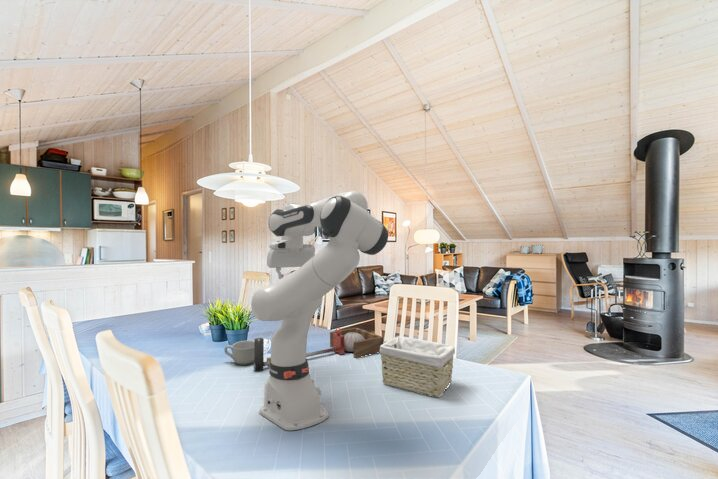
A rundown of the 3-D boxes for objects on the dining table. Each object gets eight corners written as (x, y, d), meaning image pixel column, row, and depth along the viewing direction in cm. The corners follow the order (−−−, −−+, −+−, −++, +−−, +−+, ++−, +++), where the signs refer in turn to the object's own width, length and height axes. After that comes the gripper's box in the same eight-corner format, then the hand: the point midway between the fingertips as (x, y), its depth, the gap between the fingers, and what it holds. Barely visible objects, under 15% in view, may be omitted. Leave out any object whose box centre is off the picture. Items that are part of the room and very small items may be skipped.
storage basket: (456, 385, 128) (456, 344, 128) (441, 402, 114) (441, 357, 114) (397, 371, 141) (397, 334, 141) (377, 385, 127) (377, 345, 127)
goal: (383, 351, 165) (383, 337, 165) (355, 358, 156) (355, 342, 156) (356, 340, 183) (356, 327, 183) (329, 346, 174) (330, 332, 174)
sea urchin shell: (335, 352, 164) (335, 335, 164) (343, 344, 177) (343, 328, 177) (363, 354, 161) (363, 337, 161) (369, 346, 174) (369, 330, 174)
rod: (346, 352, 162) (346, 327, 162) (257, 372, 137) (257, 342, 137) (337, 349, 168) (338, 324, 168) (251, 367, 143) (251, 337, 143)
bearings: (305, 362, 150) (305, 355, 150) (272, 370, 142) (272, 362, 142) (299, 358, 155) (299, 351, 155) (266, 365, 147) (266, 357, 147)
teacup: (261, 358, 155) (262, 340, 155) (252, 367, 144) (252, 348, 144) (231, 357, 156) (231, 339, 156) (219, 366, 146) (219, 347, 146)
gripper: (311, 244, 151) (311, 276, 151) (265, 244, 139) (265, 279, 139) (318, 244, 146) (318, 277, 146) (271, 244, 134) (271, 280, 134)
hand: (291, 278), depth 142 cm, fingers open, 8 cm apart
